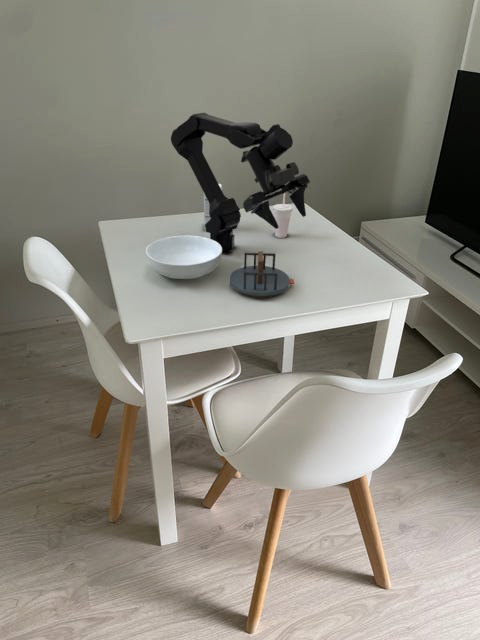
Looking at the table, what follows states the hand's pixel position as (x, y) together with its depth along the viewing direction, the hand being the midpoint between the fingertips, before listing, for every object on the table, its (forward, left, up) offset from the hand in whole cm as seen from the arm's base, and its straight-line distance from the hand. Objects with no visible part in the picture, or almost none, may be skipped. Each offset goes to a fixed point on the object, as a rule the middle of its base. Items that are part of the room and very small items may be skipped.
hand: (291, 222), depth 136 cm
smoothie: (-8, +29, -16) cm, 34 cm away
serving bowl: (-28, -6, -16) cm, 33 cm away
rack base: (-6, -8, -16) cm, 19 cm away
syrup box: (-31, +28, -16) cm, 45 cm away
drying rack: (-5, -8, -15) cm, 17 cm away
